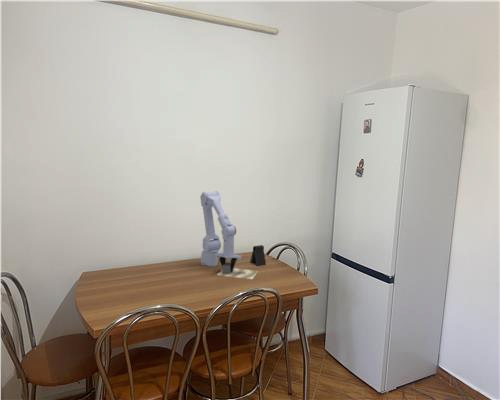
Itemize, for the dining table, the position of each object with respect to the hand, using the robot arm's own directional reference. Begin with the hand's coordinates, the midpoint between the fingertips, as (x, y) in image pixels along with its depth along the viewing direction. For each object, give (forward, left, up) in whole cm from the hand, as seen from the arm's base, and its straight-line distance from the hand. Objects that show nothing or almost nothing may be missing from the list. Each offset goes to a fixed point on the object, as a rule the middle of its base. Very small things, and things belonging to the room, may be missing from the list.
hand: (228, 270), depth 203 cm
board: (+6, 0, -2) cm, 6 cm away
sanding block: (0, 0, 0) cm, 0 cm away
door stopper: (+13, +20, -2) cm, 24 cm away
